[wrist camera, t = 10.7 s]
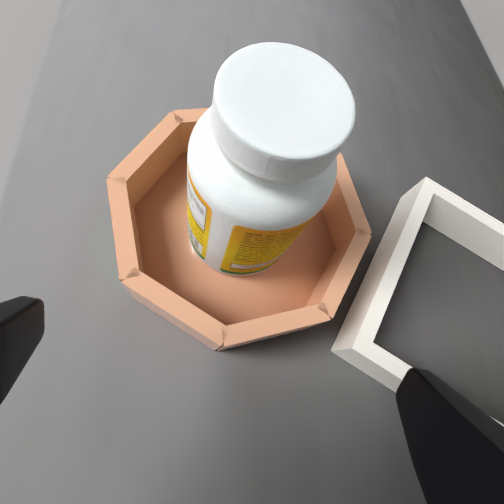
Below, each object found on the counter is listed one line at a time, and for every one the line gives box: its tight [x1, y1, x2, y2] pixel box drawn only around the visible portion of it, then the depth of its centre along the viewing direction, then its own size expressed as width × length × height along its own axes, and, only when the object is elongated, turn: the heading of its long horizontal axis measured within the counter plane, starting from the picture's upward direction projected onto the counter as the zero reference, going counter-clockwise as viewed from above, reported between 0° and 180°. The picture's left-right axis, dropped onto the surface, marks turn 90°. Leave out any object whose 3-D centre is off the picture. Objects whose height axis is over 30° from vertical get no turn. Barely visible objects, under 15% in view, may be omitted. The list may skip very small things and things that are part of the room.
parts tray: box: [331, 177, 504, 427], centre depth 18 cm, size 12×12×2 cm
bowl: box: [107, 108, 372, 351], centre depth 17 cm, size 12×12×4 cm
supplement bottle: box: [187, 42, 355, 276], centre depth 13 cm, size 5×5×10 cm
